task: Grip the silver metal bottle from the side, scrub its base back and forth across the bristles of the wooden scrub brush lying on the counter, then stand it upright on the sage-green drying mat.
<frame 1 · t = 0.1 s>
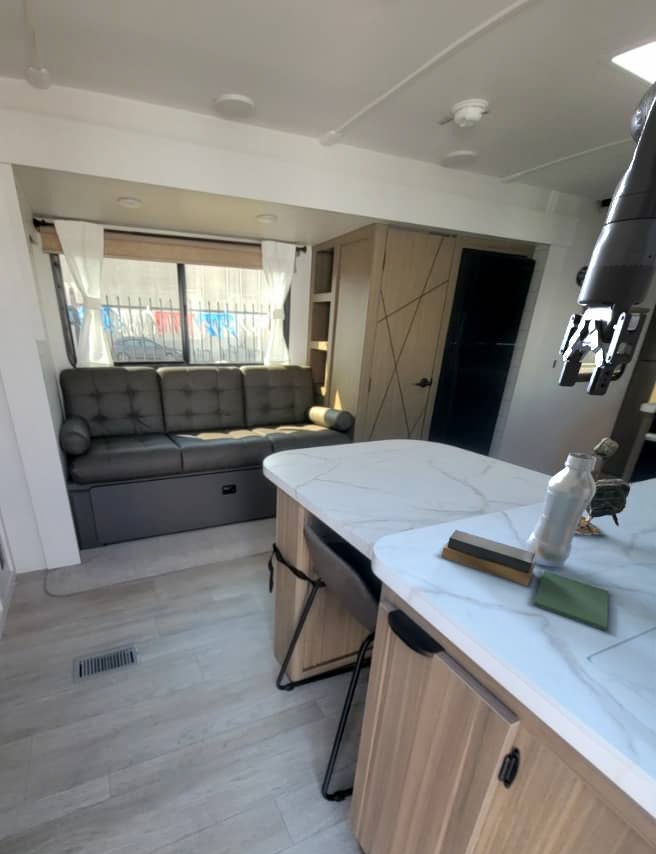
hand: (579, 390, 61), 30 cm above the table, tool pointing down, fingers open, 8 cm apart
scrub brush: (485, 564, 72), on the table
drying mat: (571, 599, 64), on the table
silver metal bottle: (542, 562, 74), on the table
plant with pod: (581, 530, 85), on the table
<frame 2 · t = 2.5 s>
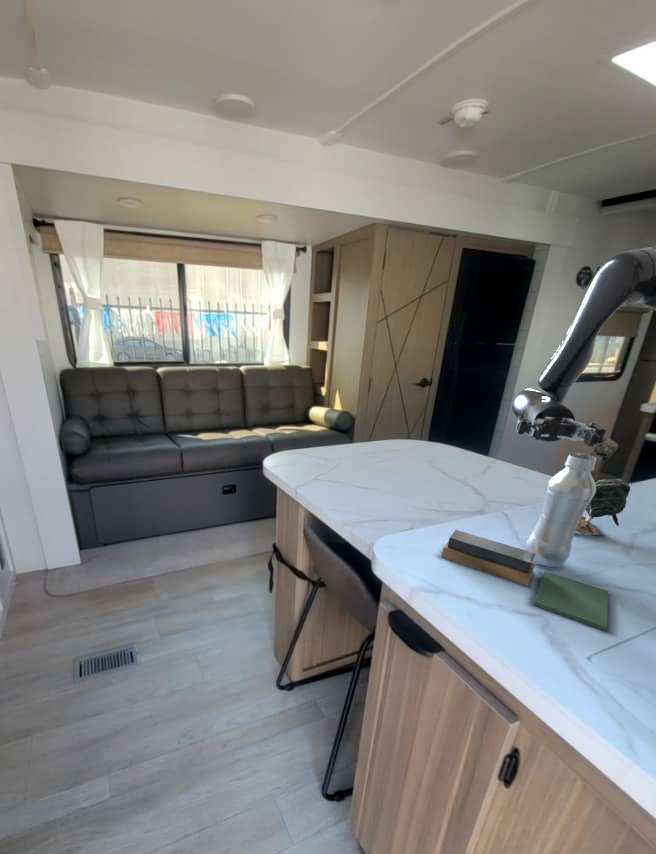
hand: (565, 437, 74), 20 cm above the table, tool horizontal, fingers open, 8 cm apart
plant with pod: (581, 530, 85), on the table, touching hand
everything else where it was.
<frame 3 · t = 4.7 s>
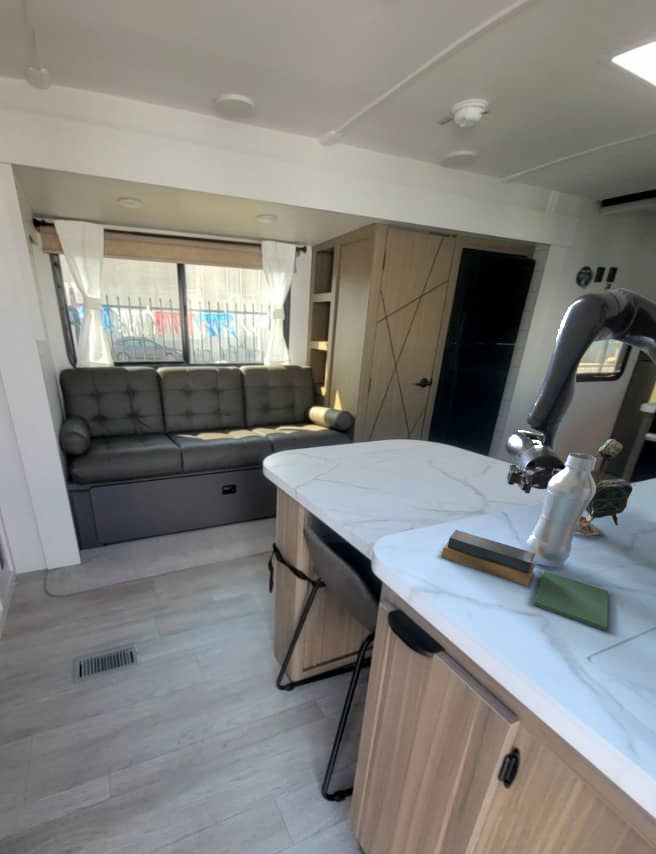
hand: (555, 492, 75), 11 cm above the table, tool horizontal, fingers open, 8 cm apart
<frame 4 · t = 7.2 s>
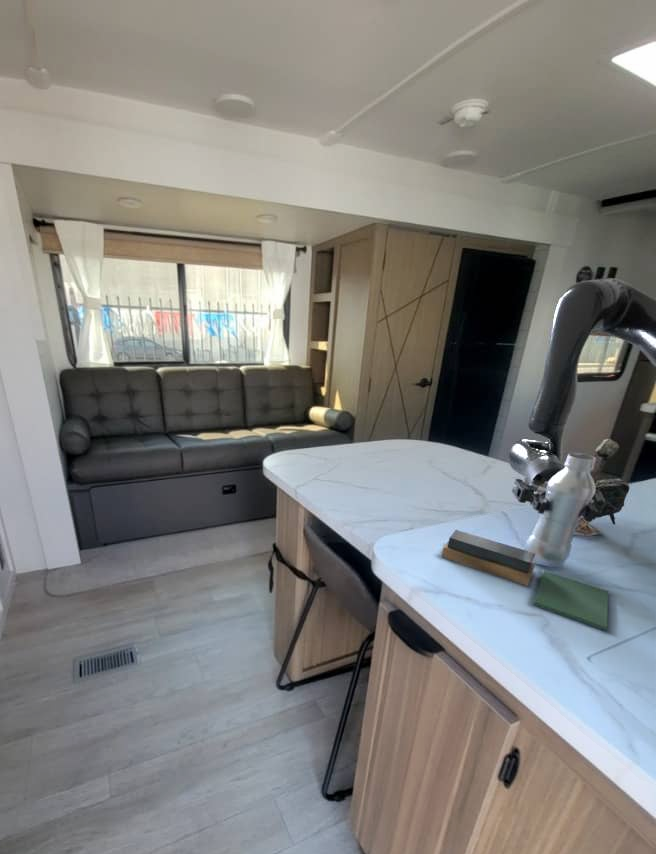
hand: (566, 512, 67), 11 cm above the table, tool horizontal, fingers closed on silver metal bottle, 6 cm apart
silver metal bottle: (542, 562, 74), on the table, touching gripper
plant with pod: (580, 531, 85), on the table
when the fingers open (11 cm above the table, at t = 24.0 s): silver metal bottle stays where it is, resting on drying mat.
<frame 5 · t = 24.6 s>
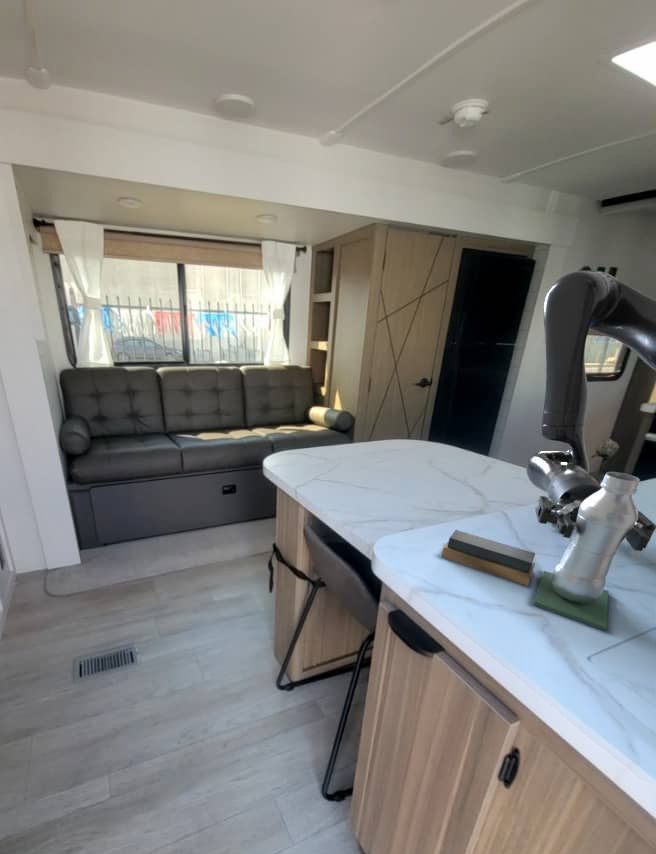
hand: (604, 538, 57), 12 cm above the table, tool horizontal, fingers open, 8 cm apart
silver metal bottle: (570, 596, 64), resting on drying mat
everything else where it was.
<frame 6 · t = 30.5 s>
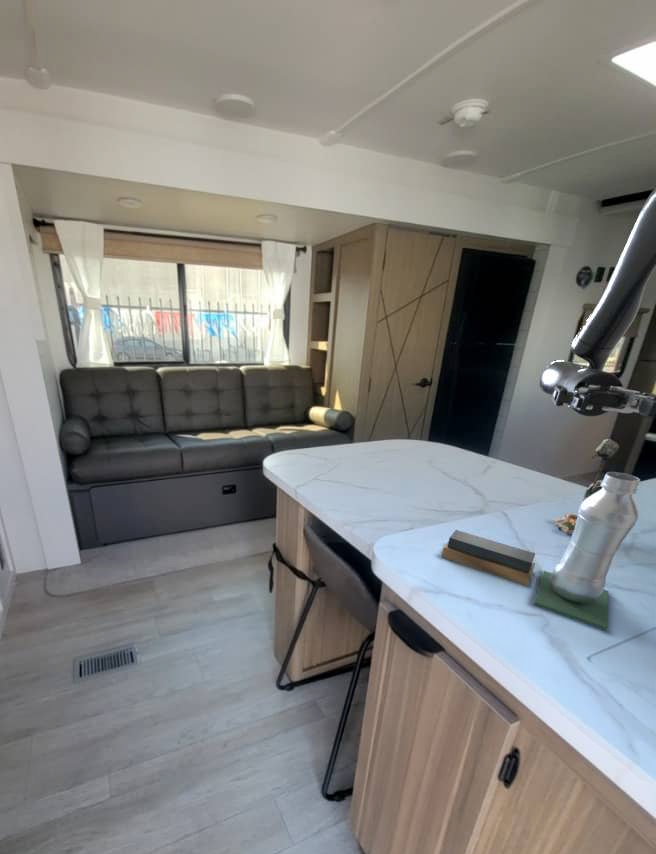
hand: (618, 407, 61), 28 cm above the table, tool horizontal, fingers open, 8 cm apart
nothing on the table moved.
at the end: silver metal bottle inside the target area (0.2 cm from its centre), resting on drying mat; silver metal bottle tilted 0°; the gripper is holding nothing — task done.
